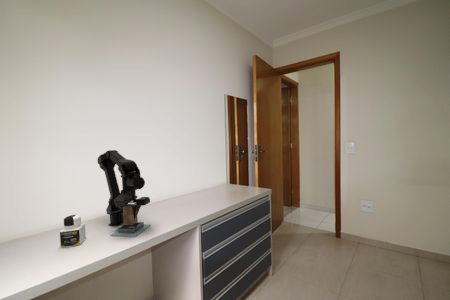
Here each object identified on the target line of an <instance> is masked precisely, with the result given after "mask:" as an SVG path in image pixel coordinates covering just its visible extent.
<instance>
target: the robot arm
mask: <svg viewBox="0 0 450 300" xmlns="http://www.w3.org/2000/svg"><path fill="white" fill-rule="evenodd" d="M96 160H97V164H98V165H99V168H100V169H101V170H102V171H103V172H104V175H105V179H106V183H107V187H108V191H109V195H110V197H109V199H108V201H107V202H108V205H107V208H106V210H105V212H106V214H107V215H109V221H110V223H109V224H107V225H108V226H112V227H113V226H117V227H119V226H122V224H123V225H124V218H123V206H125V205H127V204H134V205H133V206H132V207H133V210H134V219H135V218H136V217H137V218H138V215H139V211H140V208H142V206H146V205H147V204H150V203H151V198H150V197H149V196H141V197H139V198H138V195H137V194H136V192H137V190H142V189H143V187H144V186H145V184H146V182H145V179H144V177H141V170H140V169H139V167H138V165H137V163H136V161H135V160H132V159H127V158H125V157H124V156H123V155H121V153H119V152H118V150H115V149H114V150H106V152H104V153H102V154H100V155H99V156H98V158H97V159H96ZM115 166H117V167H118V168H117V170H118V171H119V173H120V174H121V175H120V178H121V186H122V189H121V190H120V187H119V184H118V183H119V182H118V179H117V175H116V171H115Z"/></svg>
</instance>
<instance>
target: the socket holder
mask: <svg viewBox="0 0 450 300" xmlns="http://www.w3.org/2000/svg"><path fill="white" fill-rule="evenodd" d="M149 227H151V224H150V223H149V224H147V223H144V221H138V222H136V223H135V224H133V225H124V224H123V225H120V227H118V228H117V230H116V231H114V232H113V233H111V234H109V235H110V237H123V238H124V237H125V238H126V237H127V238H136V237H138V236H139V235H141V234H142V233H143V232H144V231H145V230H147V229H148V228H149Z"/></svg>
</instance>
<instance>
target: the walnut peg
mask: <svg viewBox="0 0 450 300" xmlns="http://www.w3.org/2000/svg"><path fill="white" fill-rule="evenodd" d="M133 205H134V203H128V204H127V205H125V206H123V218H124V223H123V225H133V224H135V223H136V222H139V220H138V216H137V217H136V218H135V219H134V210H133V207H132V206H133Z"/></svg>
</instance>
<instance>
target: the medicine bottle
mask: <svg viewBox="0 0 450 300" xmlns="http://www.w3.org/2000/svg"><path fill="white" fill-rule="evenodd" d="M86 233H87V232H86V223H85V222H84V223H82V217H81V215H80V214H72V215H68V216H66V217H65V218H63V229H61V230H60V231H59V240H60V248H61V249H62V248H69V247H70V248H71V247H77V246H80V245H81V244H82V243H83V242H84V241H85V240H86V239H87V235H86Z"/></svg>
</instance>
